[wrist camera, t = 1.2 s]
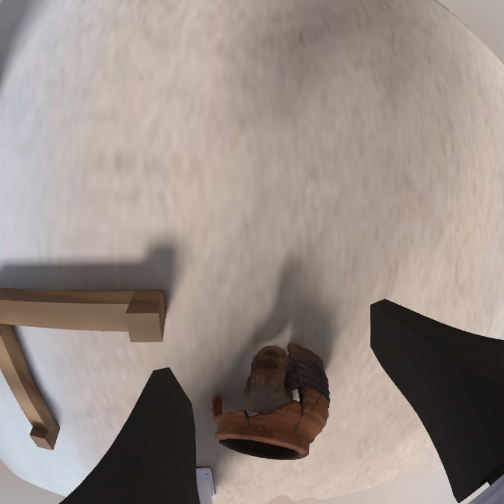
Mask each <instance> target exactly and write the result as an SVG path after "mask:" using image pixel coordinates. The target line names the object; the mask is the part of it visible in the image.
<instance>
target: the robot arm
mask: <svg viewBox="0 0 504 504" xmlns="http://www.w3.org/2000/svg"><path fill="white" fill-rule="evenodd" d="M370 321H371V335H370V347H371V348H372V350H373V352H374V354H375V356H376V357H377V359H378V361H379V362H380V364H381V366H382V368H383V369H384V370H385V372H386V373H387V374H388V376H389V377H390V378H391V380H392V381H393V382H394V383H395V385H396V386H397V387H398V389H399V390H400V391H401V393H402V394H403V395H404V397H405V398H406V399H407V400H408V402H409V403H410V404H411V406H412V407H413V409H414V410H415V411H416V413H417V414H418V416H419V418H420V419H421V421H422V423H423V425H424V427H425V428H426V430H427V432H428V434H429V436H430V438H431V440H432V442H433V444H434V446H435V448H436V450H437V452H438V454H439V457H440V459H441V461H442V464H443V466H444V469H445V471H446V474H447V476H448V479H449V482H450V485H451V488H452V492H453V495H454V497H455V499H456V500H457V502H458V503H460V502H461V501H463V500H464V499H466V498H467V497H468V496H470V495H471V494H472V493H473V492H475V491H476V490H477V489H479V488H480V487H481V486H482V485H484V484H485V483H486V482H488V483H489V485H490V486H489V487H488V488H487V489H486V490H485V491H483V492H482V493H481V494H480V495H478V496H477V497H476V498H475V499H473V500H472V501H471V502H469V503H468V504H504V340H500V339H494V338H489V337H485V336H481V335H477V334H473V333H469V332H466V331H463V330H460V329H457V328H454V327H451V326H448V325H446V324H443V323H441V322H438V321H436V320H433V319H431V318H428V317H426V316H423V315H421V314H419V313H417V312H414V311H412V310H410V309H407V308H405V307H403V306H401V305H398V304H396V303H394V302H391V301H389V300H386V299H383V300H381V301H378V302H376V303H373V304H371V305H370ZM212 499H215V492H214V486H213V480H212V474H211V469H210V468H196V443H195V424H194V416H193V410H192V404H191V401H190V400H189V398H188V397H187V395H186V394H185V392H184V390H183V389H182V387H181V386H180V384H179V382H178V381H177V379H176V378H175V376H174V374H173V373H172V371H171V369H170V367H168V368H163V369H159V370H154V371H153V372H152V374H151V376H150V378H149V380H148V382H147V383H146V385H145V387H144V389H143V391H142V393H141V395H140V397H139V399H138V401H137V403H136V404H135V406H134V408H133V410H132V412H131V414H130V415H129V417H128V419H127V421H126V423H125V424H124V426H123V428H122V429H121V431H120V433H119V434H118V436H117V438H116V439H115V441H114V442H113V444H112V445H111V447H110V448H109V450H108V451H107V453H106V454H105V455H104V457H103V458H102V459H101V461H100V462H99V463H98V464H97V466H96V467H95V468H94V469H93V470H92V471H91V473H90V474H89V475H88V476H87V477H86V478H85V479H84V480H83V482H82V483H81V484H80V485H79V486H78V487H77V488H76V489H75V490H74V491H73V492H72V493H71V494H70V495H68V496H67V497H66V498H65V499H64V500H63V501H62V502H60V503H59V504H213V503H212Z"/></svg>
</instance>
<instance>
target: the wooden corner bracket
mask: <svg viewBox="0 0 504 504" xmlns="http://www.w3.org/2000/svg"><path fill="white" fill-rule="evenodd" d="M165 319H166V312H165V303H164V292H163V290H123V291H88V290H31V289H3V288H1V289H0V369H1V371H2V373H3V375H4V377H5V379H6V381H7V383H8V385H9V387H10V389H11V391H12V392H13V394H14V396H15V398H16V400H17V402H18V403H19V405H20V407H21V409H22V410H23V412H24V414H25V415H26V417H27V418H28V420H29V422H30V423H31V425H32V426H33V428H32V430H31V433H30V436H31V438H32V439H33V441H34V442H35V443H36V445H37V446H38V447H41V448H45V449H49V450H53V449H54V446H55V443H56V440H57V437H58V434H59V431H60V428H59V426H58V425H57V423H56V421H55V419H54V418H53V416H52V414H51V412H50V410H49V409H48V407H47V405H46V403H45V401H44V399H43V397H42V395H41V393H40V391H39V389H38V387H37V385H36V383H35V381H34V379H33V377H32V374H31V372H30V370H29V368H28V365H27V363H26V360H25V358H24V356H23V353H22V351H21V348H20V345H19V343H18V340H17V337H16V335H15V332H14V329H13V326H12V325H20V326H30V327H42V328H55V329H71V330H91V331H129V336H130V341H131V342H162V341H163V333H164V326H165Z"/></svg>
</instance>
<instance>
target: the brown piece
mask: <svg viewBox="0 0 504 504" xmlns="http://www.w3.org/2000/svg"><path fill="white" fill-rule="evenodd" d="M288 352H289V355H286V353H285V350H284V349H282V348H279V347H277V346H275V345H274V346H266V347H264V348H263V349H261V350H260V351H259V352H258V354H257V355H256V356H254V358H253V362H252V364H251V375H250V377H249V378H248V380H247V385H246V388H245V391H244V394H245V397H246V401H247V406H248V408H249V409H250V410H251V411H253V412H257V413H259V414H258V415H254V416H251V417H249V416H248V413H247V411H246V410H240V411H236V412H229V413H226V414H224V415H222V400H221V399H220V398H219V397H218V396H216V395H214V396H213V401H212V405H213V406H212V412H213V416H214V419H215V422H216V423H217V425H218V431H217V432H216V434H215V437H216V438H218V439H220V440H219V443H220V444H222V445H223V446H225V447H227V448H229V449H232V450H235V451H237V452H240V453H243V454H247V455H251V456H256V457H260V458H267V459H276V460H295V459H301V458H304V457H306V456H307V455H308V454H309V445H310V443H311V442H313V441H314V439H315V437H316V436H317V435H318V434H319V433H320V432H321V431H322V429H323V428H324V427H325V425H326V422H327V418H328V416H329V413H328V408H329V403H330V398H329V394H330V392H329V390H328V387H329V385H328V379H327V377H326V374H325V370H324V365H323V362H322V360H321V359H320V358H319V356H318V355H316V354H315V353H313V352H312V351H311V350H309V349H307V348H304V347H301V346H298V345H294V344H289V345H288ZM294 389H298V393H299V398H300V402H298V401H296V400H293V394H292V390H294Z"/></svg>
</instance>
